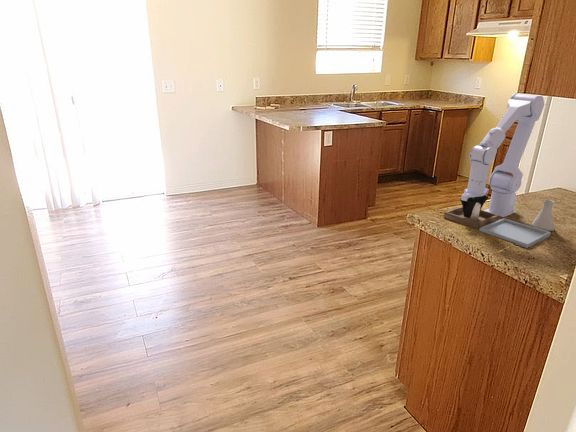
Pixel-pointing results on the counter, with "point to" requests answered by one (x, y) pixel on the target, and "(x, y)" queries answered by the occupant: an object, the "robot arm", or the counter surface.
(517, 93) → the robot arm
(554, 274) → the counter surface
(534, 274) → the counter surface
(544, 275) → the counter surface
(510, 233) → the slate tray
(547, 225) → the flask
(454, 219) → the brown square tray
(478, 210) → the cream cylinder
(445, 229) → the counter surface
